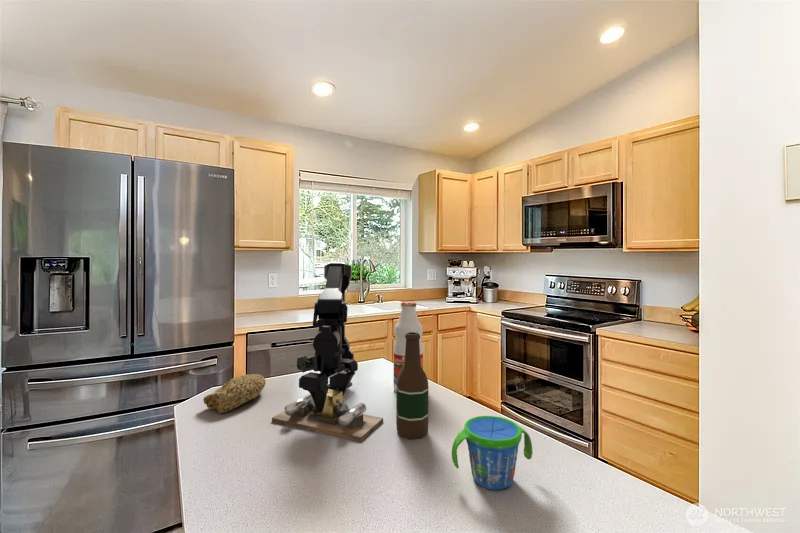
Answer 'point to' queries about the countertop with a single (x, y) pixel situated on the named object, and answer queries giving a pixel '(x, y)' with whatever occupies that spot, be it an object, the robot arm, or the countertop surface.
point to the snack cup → (492, 449)
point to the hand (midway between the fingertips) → (330, 406)
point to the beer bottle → (412, 393)
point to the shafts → (340, 409)
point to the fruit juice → (404, 325)
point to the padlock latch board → (330, 424)
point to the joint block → (331, 404)
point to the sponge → (235, 392)
